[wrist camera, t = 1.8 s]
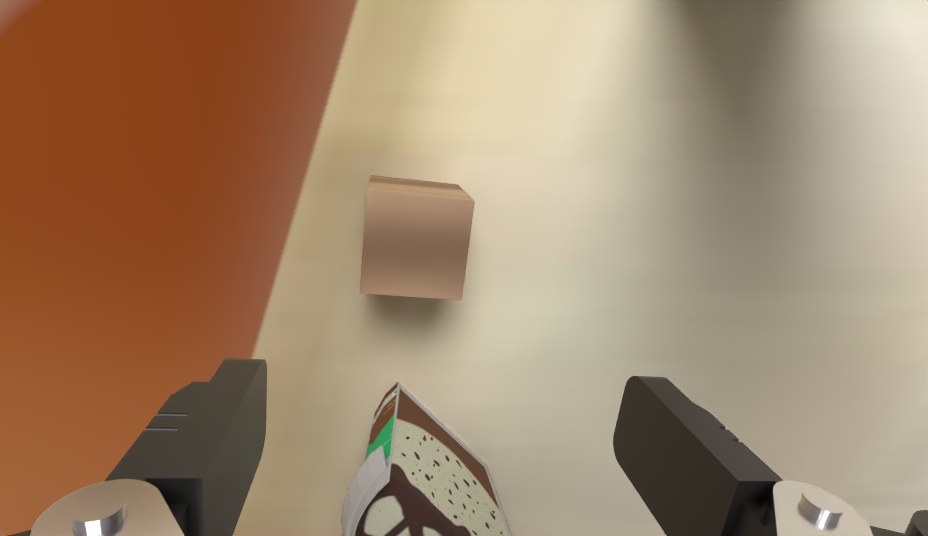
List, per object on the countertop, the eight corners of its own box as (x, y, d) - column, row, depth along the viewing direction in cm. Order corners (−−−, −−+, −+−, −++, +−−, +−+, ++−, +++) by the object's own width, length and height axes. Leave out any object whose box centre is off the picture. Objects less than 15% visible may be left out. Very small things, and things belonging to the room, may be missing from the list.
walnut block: (371, 175, 28) (367, 190, 23) (457, 184, 29) (474, 201, 23) (365, 259, 30) (359, 293, 24) (447, 266, 31) (461, 300, 25)
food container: (311, 426, 32) (280, 555, 23) (382, 367, 32) (380, 473, 22) (435, 529, 36) (452, 675, 27) (500, 477, 36) (540, 608, 26)
